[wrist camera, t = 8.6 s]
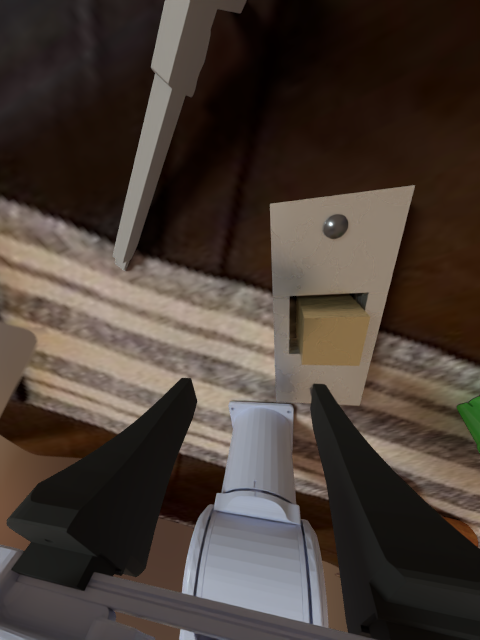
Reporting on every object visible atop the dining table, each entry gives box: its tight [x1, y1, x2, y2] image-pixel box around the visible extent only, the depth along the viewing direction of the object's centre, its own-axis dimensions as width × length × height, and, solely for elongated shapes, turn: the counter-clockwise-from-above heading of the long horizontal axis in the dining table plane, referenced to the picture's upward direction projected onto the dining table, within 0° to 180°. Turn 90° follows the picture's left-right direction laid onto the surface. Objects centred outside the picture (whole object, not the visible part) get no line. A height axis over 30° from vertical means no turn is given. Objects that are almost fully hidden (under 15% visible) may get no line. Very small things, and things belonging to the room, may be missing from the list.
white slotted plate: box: [270, 185, 415, 406], centre depth 17 cm, size 18×8×3 cm, turn 6°
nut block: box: [295, 293, 370, 366], centre depth 16 cm, size 4×4×5 cm
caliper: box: [113, 0, 247, 271], centre depth 12 cm, size 20×1×6 cm, turn 143°
